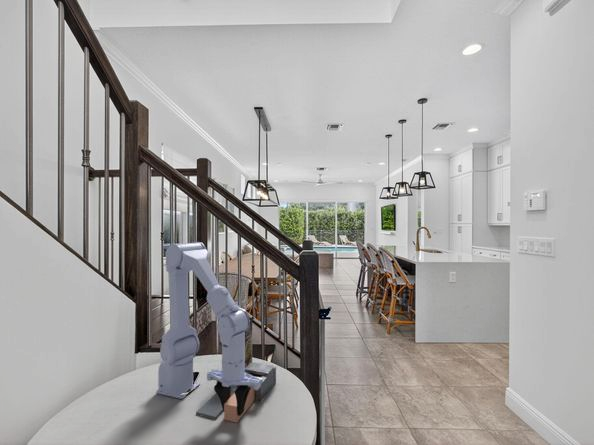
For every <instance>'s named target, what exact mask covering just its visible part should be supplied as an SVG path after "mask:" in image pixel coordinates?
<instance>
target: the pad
mask: <svg viewBox="0 0 594 445" xmlns="http://www.w3.org/2000/svg"><path fill="white" fill-rule="evenodd" d="M235 390H236V389H231V392H230V397H231V396H232V395H233V394H234V393H235ZM222 413H224V412H223V408H222V404H221V401H220V399H219V396H218V395H217V393H216V392H215V394H213V395H212V396H211V397H210V398H209V399H208V400H207V401H206V402H205V403H204V404H203V405H201V407H199V408H198V409H197V410H196V412H195V414H196V415H197V414H199V415H198V416H201V415H202V416H201V417H205V418H210V419H212V420H217V419H218V417H219V416H220V415H222Z"/></svg>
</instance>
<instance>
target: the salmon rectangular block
mask: <svg viewBox="0 0 594 445" xmlns="http://www.w3.org/2000/svg"><path fill="white" fill-rule="evenodd" d="M254 401H256V390H254V388H252V387H251V389H250V391H249V394H248V396H247V399H246V403H245V407H244V412H243V413H242V414H241V415H240V416H238V414H237V400H236V395H235V393H234V394H233V395H232V396H231V397H230V398H229V399H228V400H227V401H226V402H225V404H224V412H223V420H224V421H227V422H232V423H233V422H234V423H238V421H240V419H241V417H243V415H244V414H245V412H246V411H248V409H249V407H250V406H251V405H252V404H253V402H254Z"/></svg>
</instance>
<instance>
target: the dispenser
mask: <svg viewBox="0 0 594 445" xmlns="http://www.w3.org/2000/svg"><path fill="white" fill-rule="evenodd" d="M245 373H247V374H250V375H252V376H254V377H256V378H260V379H261V387H260V388H259V389H258V390H256V399H255V402H256V401H258V402H257V403H262V401H263V400H264V399H265V397H267V395H268V394H269V392H270V391H271V389H273V387H274V386H275V384H276V383H277V365H270V364H266V363H259V362H252V363H250V364H249V365H248V366H247V367H246V368H245ZM235 386H236V387H235V390H236V389H237V388H238V387H239V385H235Z"/></svg>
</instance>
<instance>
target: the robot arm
mask: <svg viewBox="0 0 594 445" xmlns="http://www.w3.org/2000/svg"><path fill="white" fill-rule="evenodd" d="M208 258H209V251H208V249H207V247H206V246H205V244H204V243H203V242H200V241H196V242H188V243H187V242H186V243H171V244H170V245H169V246H168V248H167V249H166V251H165V270H166V273H168V293H169V294H168V295H169V316H170V318H169V319H170V327H169V329H168V330H167V331H166V332H165V333H164V334H163V336H162V337H161V345H160V349H159V352H160V353H159V354H160V358H161V362H160V363H159V367H158V372H157V373H158V375H157V376H158V378H157V379H158V389H157V390H156V394H159V395H164V396H167V397H171V398H176V399H180V400H181V399H182V400H183V399H184V398H186V397H187V396H188V395H187V394H185V395H180V394H182V393H184V392H187V391H188V390H189V389H191V388H192V387H193V382H195V384H194V388H193V389H194V390H195V389H197V386H198V385H199V386H200V385H201V384H200V382H197V381H194V358H196V354H197V353H198V351H199V350H200V340H199V338H198V331H197V329H196V328H195V327H192V326H191V325H190V311H189V310H190V306H189V305H190V304H189V285H188V284H189V281H188V274H189V273H190V272H191V271H192V272H194V274H195V276H196V277H197V278H198V280H199V281H200V283H201V284H202V286H203V288H204V289H205V290H206V292H207V293H206V294H207V295H206V301H207V303H208V305H209V307H210V308H211V310H212V311H213V313H214V315H215V317H216V319H217V323H216V330H217V333H218V334H219V341H220V343H221V369H217V370H216V369H210V370H209V371H208V372H207V374H206V381H209V382H210V381H216V383H215V385H214V386H213V390H214V392H215V394H216V393H217V395H218V396H219V399H220V401H221V404H222V408H223V412H222V413H224V404H225V402H226V401H227V400H228V399H229V398H230V392H231V390H232V386H236V385H239V387H238V388H237V389H236V388H235V389H234V390H235V395H236V400H237V414H238V416H240V415H241V414H242V413H243V412H244V407H245V403H246V399H247V396H248V394H249V391H250V389H251V387H252V388H254V390H258V389H259V388H260V387H261V379H260V378H256V377H254V376H252V375H250V374H247V373H245V330H247V329H248V327H249V324H250V320H251V319H250V316H249V315H248V312H247V310H245V309H244V308H241V306H239V305H237V303H236V302H235V301H234V299H233V296H231V294H230V292H229V290H228V289H227V287H226V286H223V285H220V283H219V281H218V279H217V278H216V275H215V273H214V271H213V269H212V267H211V264H210V262H209V261H208ZM243 331H244V332H243ZM199 386H198V387H199ZM193 389H192V390H193ZM194 390H193V391H194ZM186 395H187V396H186ZM244 413H245V412H244Z"/></svg>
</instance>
